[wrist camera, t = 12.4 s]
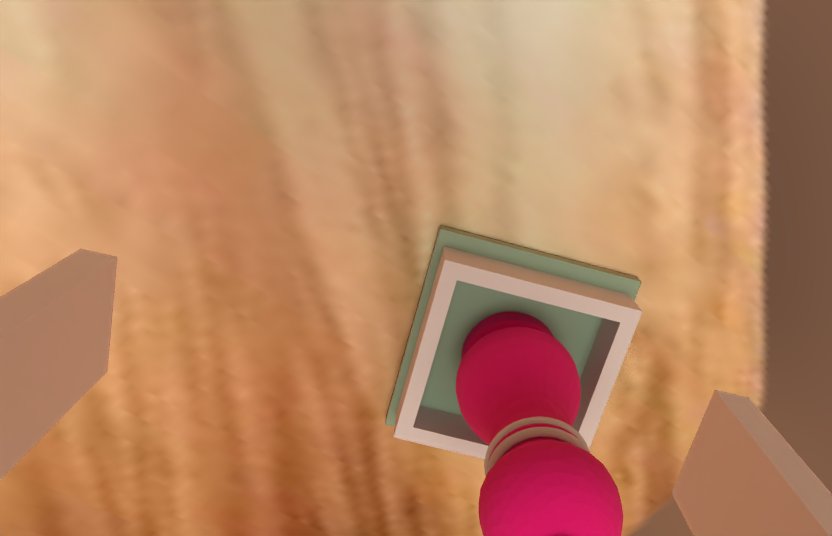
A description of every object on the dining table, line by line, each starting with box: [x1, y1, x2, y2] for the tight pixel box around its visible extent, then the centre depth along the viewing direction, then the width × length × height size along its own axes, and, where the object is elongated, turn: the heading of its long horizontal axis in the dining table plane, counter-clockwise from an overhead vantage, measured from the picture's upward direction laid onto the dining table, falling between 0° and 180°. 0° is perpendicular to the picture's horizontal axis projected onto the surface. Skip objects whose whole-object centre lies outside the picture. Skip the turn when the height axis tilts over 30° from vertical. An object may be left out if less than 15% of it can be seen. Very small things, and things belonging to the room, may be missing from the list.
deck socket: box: [385, 225, 643, 459], centre depth 43 cm, size 14×13×4 cm
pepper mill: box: [456, 312, 623, 536], centre depth 34 cm, size 7×7×20 cm
